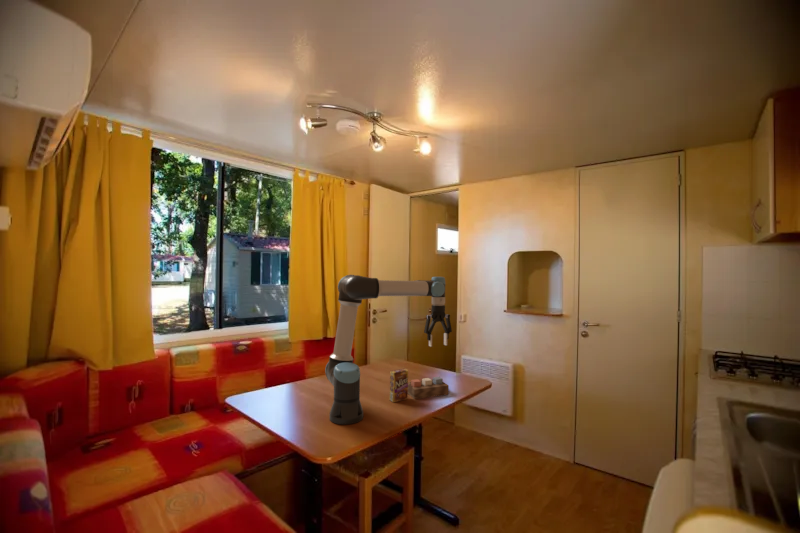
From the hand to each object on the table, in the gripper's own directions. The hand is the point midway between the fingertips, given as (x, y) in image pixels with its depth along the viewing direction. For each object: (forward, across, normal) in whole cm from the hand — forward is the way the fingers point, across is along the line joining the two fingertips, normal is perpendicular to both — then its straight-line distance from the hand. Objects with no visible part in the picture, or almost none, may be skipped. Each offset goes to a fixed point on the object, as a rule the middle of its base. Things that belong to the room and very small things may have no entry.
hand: (437, 345), depth 195 cm
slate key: (+22, 0, 0) cm, 22 cm away
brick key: (+22, -13, 0) cm, 25 cm away
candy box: (+26, -24, -4) cm, 36 cm away
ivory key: (+22, -6, 0) cm, 23 cm away
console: (+25, -6, 0) cm, 26 cm away
